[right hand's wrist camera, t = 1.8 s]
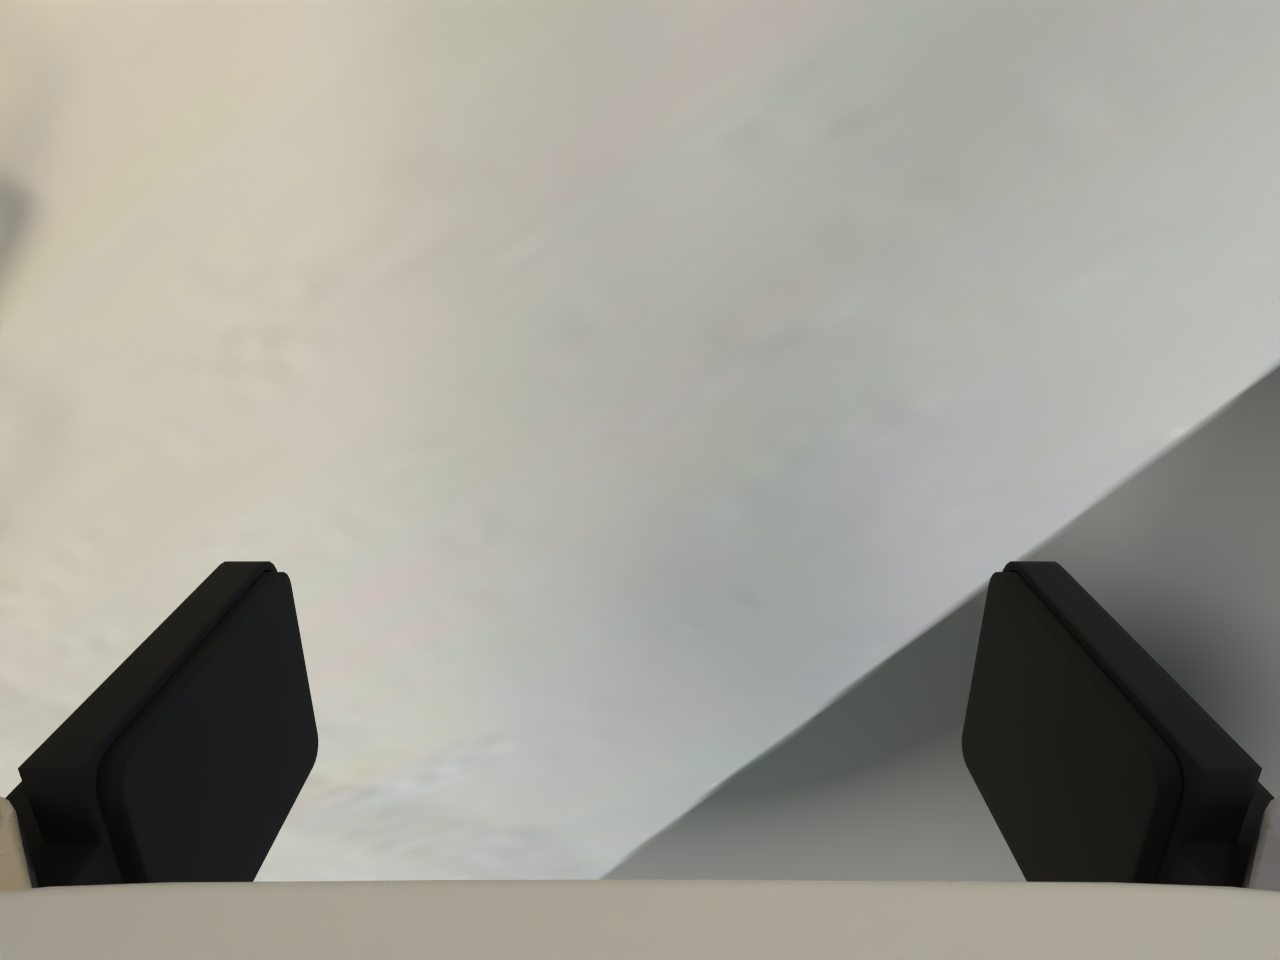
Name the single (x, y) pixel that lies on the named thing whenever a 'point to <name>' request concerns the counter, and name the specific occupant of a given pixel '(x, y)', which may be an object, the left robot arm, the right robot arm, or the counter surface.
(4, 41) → the counter surface
